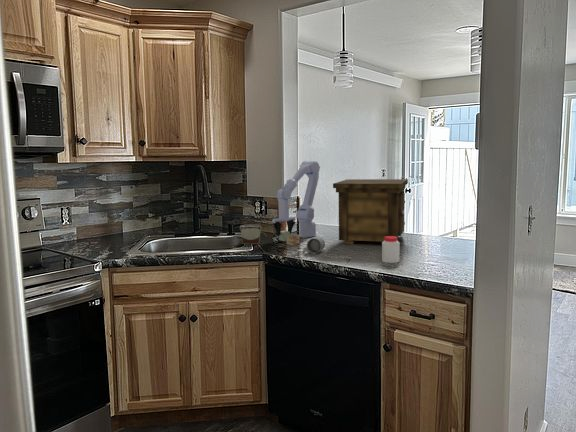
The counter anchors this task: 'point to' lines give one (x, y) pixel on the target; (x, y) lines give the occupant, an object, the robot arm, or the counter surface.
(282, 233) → the sage block
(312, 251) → the ceramic mug
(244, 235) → the food container
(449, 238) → the counter surface
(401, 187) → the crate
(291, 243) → the slab lower
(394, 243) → the pill bottle
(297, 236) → the slab upper
